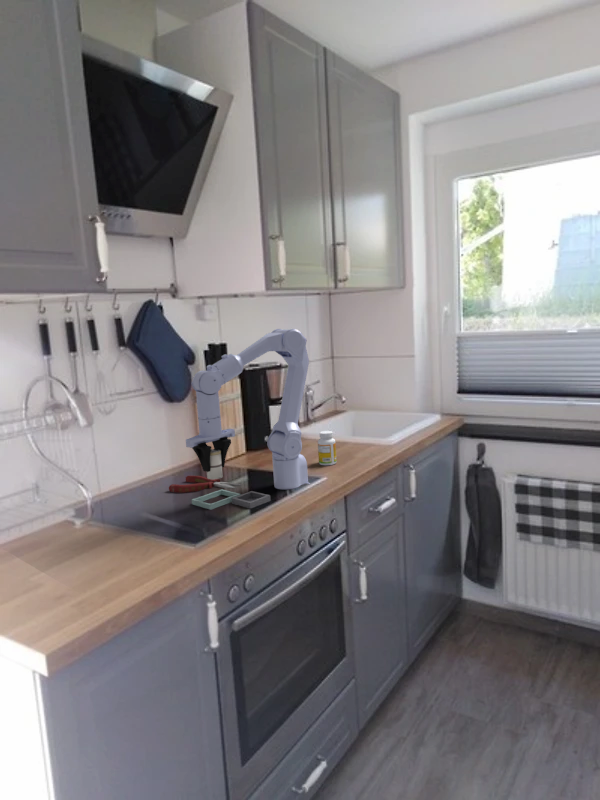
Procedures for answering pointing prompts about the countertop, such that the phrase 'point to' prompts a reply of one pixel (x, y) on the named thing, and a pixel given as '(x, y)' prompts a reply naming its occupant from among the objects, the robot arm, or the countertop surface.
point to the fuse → (215, 465)
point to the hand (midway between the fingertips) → (213, 468)
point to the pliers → (199, 484)
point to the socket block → (251, 499)
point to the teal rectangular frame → (200, 500)
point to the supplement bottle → (326, 448)
